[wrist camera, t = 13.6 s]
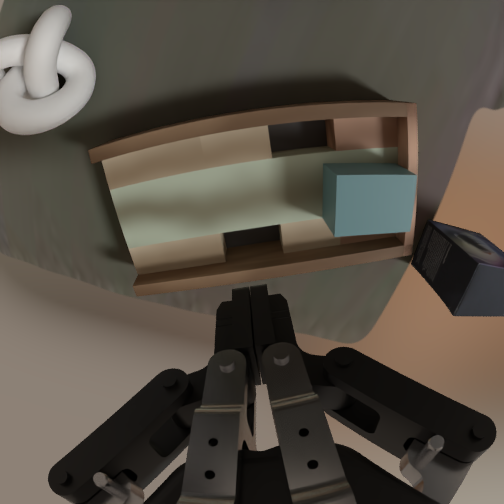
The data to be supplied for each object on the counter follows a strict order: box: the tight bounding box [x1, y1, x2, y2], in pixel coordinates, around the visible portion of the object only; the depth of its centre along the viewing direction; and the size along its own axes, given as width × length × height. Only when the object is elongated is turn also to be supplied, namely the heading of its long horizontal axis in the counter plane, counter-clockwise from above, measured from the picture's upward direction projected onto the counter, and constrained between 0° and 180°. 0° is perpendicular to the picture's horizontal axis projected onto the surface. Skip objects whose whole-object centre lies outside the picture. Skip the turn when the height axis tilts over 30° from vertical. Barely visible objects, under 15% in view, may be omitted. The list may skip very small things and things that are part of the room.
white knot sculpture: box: [0, 5, 96, 135], centre depth 18 cm, size 11×12×9 cm
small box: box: [411, 220, 504, 316], centre depth 28 cm, size 11×6×10 cm, turn 81°
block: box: [322, 163, 417, 237], centre depth 24 cm, size 5×7×4 cm
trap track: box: [88, 100, 418, 296], centre depth 26 cm, size 14×27×5 cm, turn 98°
